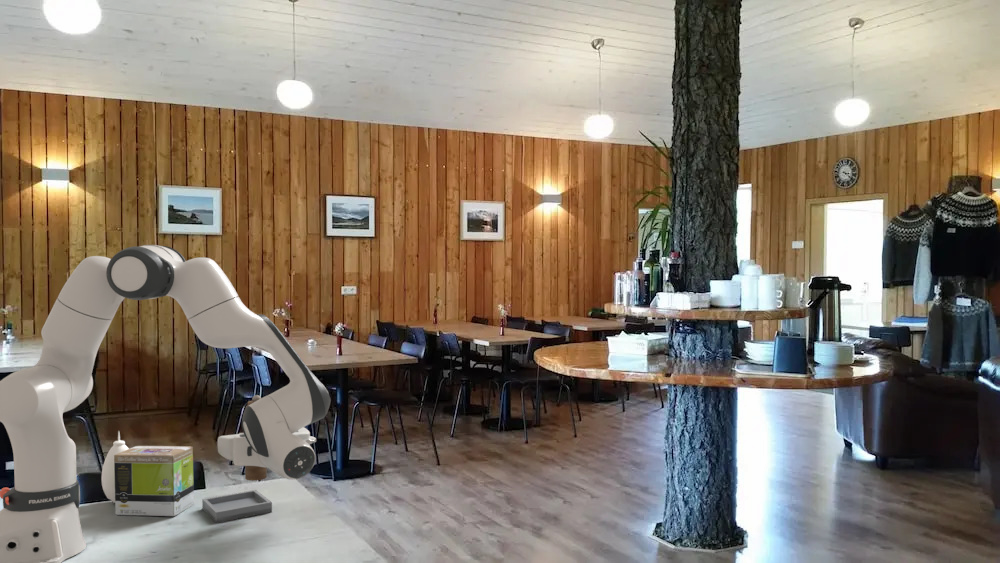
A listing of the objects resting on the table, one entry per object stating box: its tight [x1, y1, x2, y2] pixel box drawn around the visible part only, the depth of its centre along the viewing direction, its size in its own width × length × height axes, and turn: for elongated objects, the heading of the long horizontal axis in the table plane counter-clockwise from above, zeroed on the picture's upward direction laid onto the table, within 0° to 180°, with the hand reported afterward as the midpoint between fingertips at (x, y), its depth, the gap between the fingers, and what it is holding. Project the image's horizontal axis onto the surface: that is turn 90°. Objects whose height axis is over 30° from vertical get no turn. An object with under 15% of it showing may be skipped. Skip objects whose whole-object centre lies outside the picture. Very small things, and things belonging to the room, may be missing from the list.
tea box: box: [114, 445, 195, 517], centre depth 186 cm, size 15×10×15 cm
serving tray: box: [202, 489, 273, 524], centre depth 186 cm, size 13×12×2 cm
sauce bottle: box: [101, 430, 130, 503], centre depth 192 cm, size 8×8×18 cm
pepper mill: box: [244, 394, 268, 482], centre depth 181 cm, size 5×5×20 cm
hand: (254, 434), depth 182 cm, fingers closed on pepper mill, 5 cm apart
